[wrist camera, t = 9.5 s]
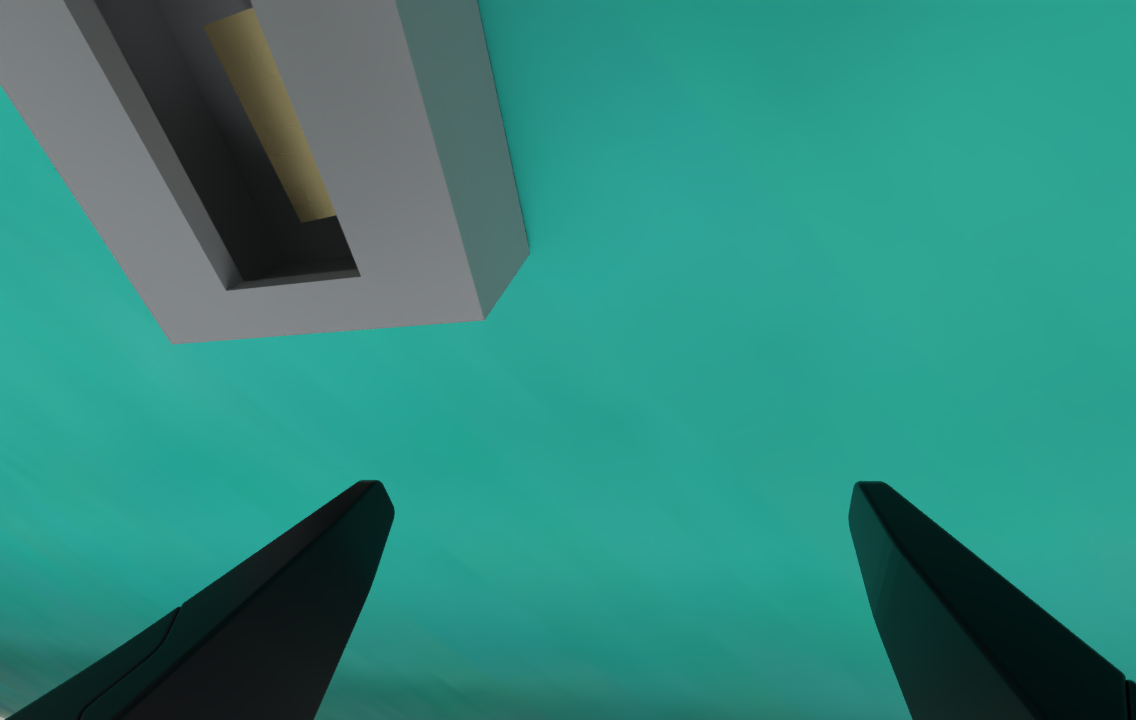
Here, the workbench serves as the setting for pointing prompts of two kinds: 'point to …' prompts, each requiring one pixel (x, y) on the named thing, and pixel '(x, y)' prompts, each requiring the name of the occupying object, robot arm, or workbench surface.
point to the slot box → (246, 175)
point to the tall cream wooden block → (270, 110)
